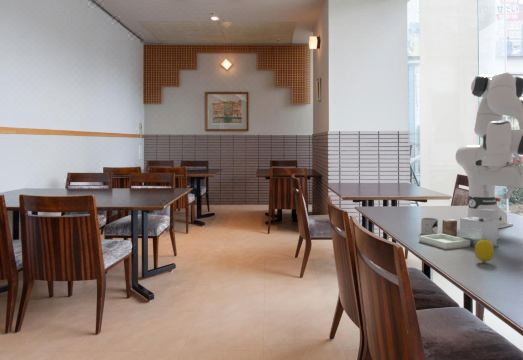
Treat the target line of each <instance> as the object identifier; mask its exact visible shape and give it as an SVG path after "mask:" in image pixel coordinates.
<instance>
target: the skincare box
mask: <svg viewBox="0 0 523 360" xmlns="http://www.w3.org/2000/svg"><path fill="white" fill-rule="evenodd" d="M479 217H480V218H486V219H491V220H497V240H499V232H500V231H499V230H500V228H499V210H493V209H480V210H479Z"/></svg>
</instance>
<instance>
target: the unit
mask: <svg viewBox="0 0 523 360" xmlns="http://www.w3.org/2000/svg"><path fill="white" fill-rule="evenodd" d="M459 238H463V239H467V240H470V247H472V248H475V246H476V244H477V242H478V241H480V240H483V239H486V240H488V241H490V242H491V243H492V245H493V247H494V248H500V245H499V244H497V243H498V242H497V241H498V239H497V220H491V219H486V218H480V217H466V216H465V217H460V218H459Z"/></svg>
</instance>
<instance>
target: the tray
mask: <svg viewBox="0 0 523 360" xmlns="http://www.w3.org/2000/svg"><path fill="white" fill-rule="evenodd" d="M418 242H419V243H422V244H426V245H429V246H433V247H436V248H439V249H444V250H453V249H459V248H460V249H461V248H468V247H471V246H470V240H467V239H463V238H460V236H459V237H458V236H457V237H455V236H450V235H446V234H442V233H437V234H433V235H423V234H422V235H419V236H418Z"/></svg>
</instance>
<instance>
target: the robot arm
mask: <svg viewBox="0 0 523 360" xmlns="http://www.w3.org/2000/svg"><path fill="white" fill-rule="evenodd" d="M470 91H471V94H472V95H473V96H474V97H478V98H481V100H480V103H479V105H478V109H477V113H476V118H475V124H474V129H473V130H474V133H475V135H477V137H480V138H481V139H482V144H469V145H464V146H461V147H459V148H457V151H456V152H455V161H456V163H457V164H458V165H459V166H461V168H462V169H463V170H464V172H465V174H466V176H467V181H468V196H467V207H466V212H465V218H466V217H479V210H480V209H493V210H499V229H502V228H506V227H508V228H509V227H512V226H514V223H513V222H509V221H508V213H507V212H506V211H505V210H504V209H503V208H502V207H500V206H499V205H498V202H501V201H502V198H501V197H499V196H496V197H495V192H496V191H495V187H505V188H506V190H507V191H506V193H503V199H506V200H508V199H511V197H512V196H511V194H512V193H513V192H514V190H515V188H522V187H523V164H521V163H520V162H513V161H512V160H513V155H520V156H521V155H522V156H523V100H522V99H520V98H521V97H522V95H523V77H520V76H517V75H516V76H513V75H512V73H509V72H506V71H501V72H498V73H496V74H482V73H481V74H478V75H476V76H474V78H473V80H472V82H471V85H470ZM503 116H508V117H511V118H513V119H515V120H517V123H518V126H519V129H512V125H511V122H510V121H508V120H503Z"/></svg>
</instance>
